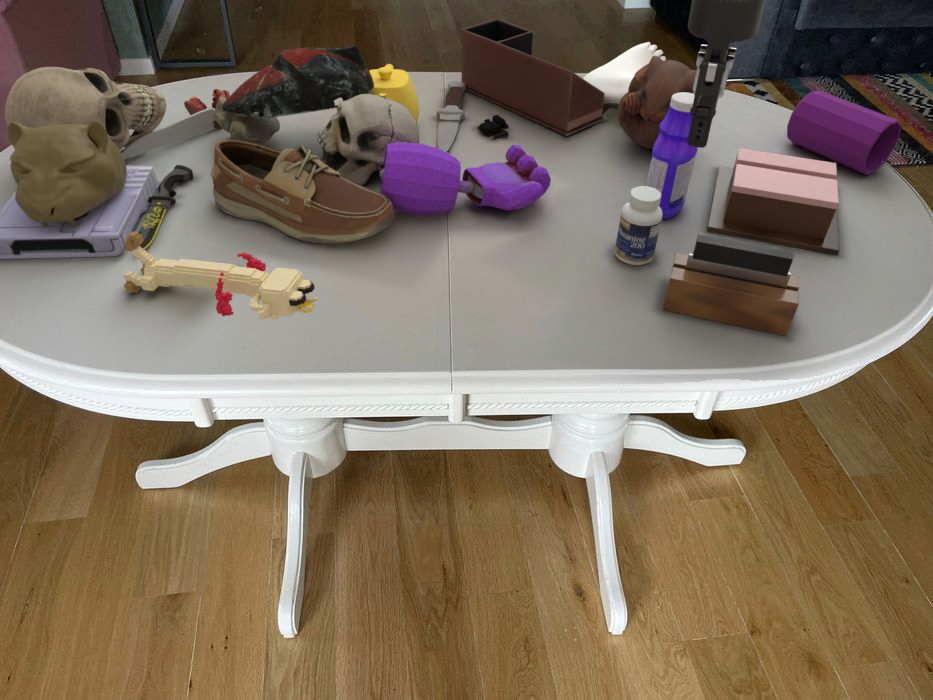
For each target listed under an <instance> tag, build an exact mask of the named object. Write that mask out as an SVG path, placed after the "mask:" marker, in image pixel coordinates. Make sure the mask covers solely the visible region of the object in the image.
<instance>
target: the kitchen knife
mask: <svg viewBox="0 0 933 700" xmlns="http://www.w3.org/2000/svg"><path fill="white" fill-rule="evenodd" d="M214 112H215V109H214V108H212V107H209V108H206V109H205V110H202V111H199V112H197V113H195V114H193V115H188V116H186V117H184V118H181V119H179V120H177V121H174V122H172V123H170V124H168V125H165V126H163V127H161V128H158V129H155V130H154V131H153V132H151V133H149V134H146V135H144V136H142V137H140V138H138V139H137V140H135V141H133V142H132V143H131V144H129V145H128V146H127V147H123V148H122V149H121V150H120V152H121V154H122V156H123V158H124V160H127V159H129V158H132V157H135V156H139V155H141V154H144V153H146V152H150V151H153V150H155V149H158V148H162V147H164V146H168V145H171V144H174V143H178V142H181V141H185V140H188V139H190V138H193V137H195V136H197V135H201V134H205V133H207V132H209V131H212V130H217V129H220V128H222V127H221V126H220V125H219V124H218V122H217V121H216V120H215V119H214Z"/></svg>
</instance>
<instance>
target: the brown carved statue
mask: <svg viewBox="0 0 933 700" xmlns="http://www.w3.org/2000/svg"><path fill="white" fill-rule="evenodd" d="M660 57H661V56H659V57H658V56H653V57H652V58H651V60H650V62H649V64H647V65H645V66H644V67H642V68H641V69H639V70H638V71H637V72H636V73H635V75H634V77H633V79H632V80H631V82H630V85H629V89H628V93H626V94H625V95H624V96H623V97H622V98H621V99H620V102H619V104H617V108H618V109H617V119H618V122H619V125H620V127H621V129H622V131H623V132H624V133H625V134H626V136H627V137H628V138H629V139H630V140H631V141H633V143H635V144H636V145H637V146H639V147H641V148H645V149H649V150H653V148H654V145H655V142H656V140H657V138H658V136H659V134H660V132H661V131H660V127H659V126H660V123H661V122H662V121H663V120H664V118H665V117H666V115H667V113H668V110H669V107H670V102H671V98H672V95H673V94H676V93H681V92H687V93H692V94H693V85H694V81H695V76H696V72H697V69H690V68H689V66H688V65H686V64H684V63H683V62H680V61H678V60H672V59H666V60H664V61H662V59H661V58H660Z"/></svg>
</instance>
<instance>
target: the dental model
mask: <svg viewBox="0 0 933 700" xmlns="http://www.w3.org/2000/svg"><path fill="white" fill-rule="evenodd" d="M211 95H212V99H211V100H212V102H211V108H212V109H214V110H215V109H216V106H217V103H218V99H219V97H220V96H222V97H224V98H225V99H228V98H229V97H230V96H231V94H230V91H229V90H225V89H223V90H221V89H219V88H215V89H213V91H212V94H211ZM183 106H184V108H185V109H186V111H187V112H188V114H189V116H191V115H193V114H195V113H197V112H199V111H202V110H206V109H208V106H207V104H205V102H204V101H203V102H202V100H201V98H198V97H197V96H195V95H194V96H191V97H190V98H189V100H185V101H184V102H183Z"/></svg>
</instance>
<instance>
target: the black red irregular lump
mask: <svg viewBox="0 0 933 700" xmlns="http://www.w3.org/2000/svg"><path fill="white" fill-rule="evenodd" d="M364 60H365V59H364V58H363V55H362V53H361V50H360V48H359V46H358V45H357V44H354V45H350V46H346V47H336V48H335V47H333V48H332V47H331V48H328V47H298V48H297V47H296V48H287V49H283V50H282V51H280V52H279V53H278V55H277V56H275V59H274V60H273V63H271V64H270V65H268V66H265V67H264V68H262V69H260V70H259V71H257V72H256V73H254V74H253V75H252V76H250V77H249V78H248V79H246V80H245V81H243V83H241V84H240V85H239V86H238V87H237V88H236V89H235V90H234V91H233V92H232V93H231V94H230V97H229V98H228V99H227V100H226V101H225V102H224V103H223V104H222V109H223V111H228V112H230V113H234V114H237V115H243V116H247V117H258V118H262V117H267V118H273V117H277V118H280V117H288V116H293V115H301V114H308V113H313V112H320V111H326V110H331V109H337V105H338V104H337V105H336V103H335V101H336V100H338V99H342V101H346V100H349V99H351V98H353V97H355V96H358V95H360V94H369V92H370V91H371V90H372V89H373V88H374V83H373V79H372V76H371V74H370V71H369V68H368V66H367V65H366V63H365V61H364ZM254 112H259V114H258V115H257V114H254Z"/></svg>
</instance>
